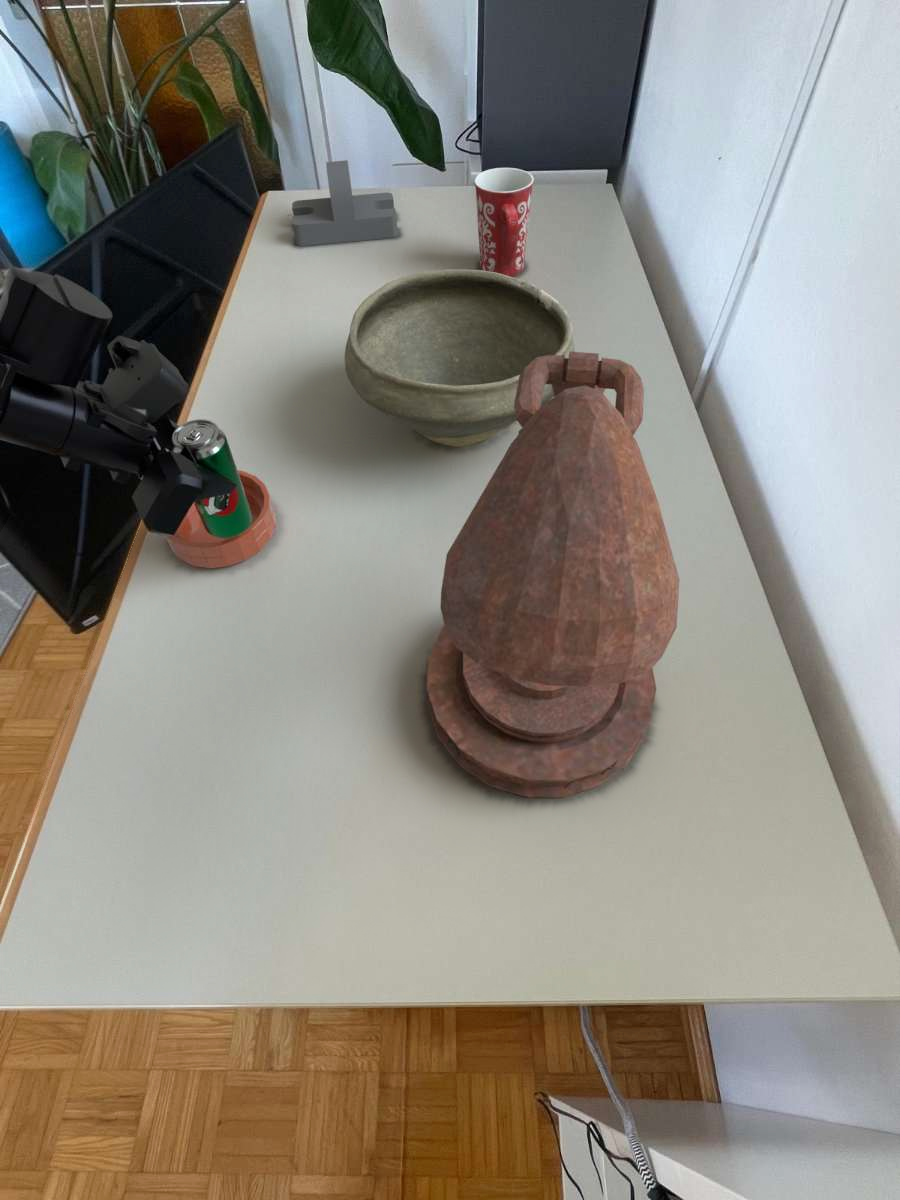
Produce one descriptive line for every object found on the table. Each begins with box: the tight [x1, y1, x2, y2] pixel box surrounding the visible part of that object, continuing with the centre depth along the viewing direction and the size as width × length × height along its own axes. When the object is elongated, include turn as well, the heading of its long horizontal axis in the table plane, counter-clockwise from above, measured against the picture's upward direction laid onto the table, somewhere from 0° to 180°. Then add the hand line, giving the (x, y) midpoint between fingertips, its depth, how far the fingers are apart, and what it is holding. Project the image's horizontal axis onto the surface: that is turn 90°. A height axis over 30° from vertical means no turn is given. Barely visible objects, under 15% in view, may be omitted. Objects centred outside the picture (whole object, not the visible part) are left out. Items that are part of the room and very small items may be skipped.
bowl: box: [344, 268, 576, 448], centre depth 87 cm, size 28×28×14 cm
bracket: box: [291, 159, 399, 247], centre depth 121 cm, size 10×18×11 cm, turn 98°
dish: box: [163, 469, 277, 569], centre depth 79 cm, size 12×12×4 cm
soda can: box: [171, 418, 253, 538], centre depth 69 cm, size 5×5×12 cm
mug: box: [473, 167, 535, 277], centre depth 109 cm, size 13×9×14 cm
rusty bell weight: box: [426, 351, 680, 798], centre depth 50 cm, size 21×32×40 cm, turn 170°
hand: (224, 472), depth 69 cm, fingers closed on soda can, 5 cm apart
